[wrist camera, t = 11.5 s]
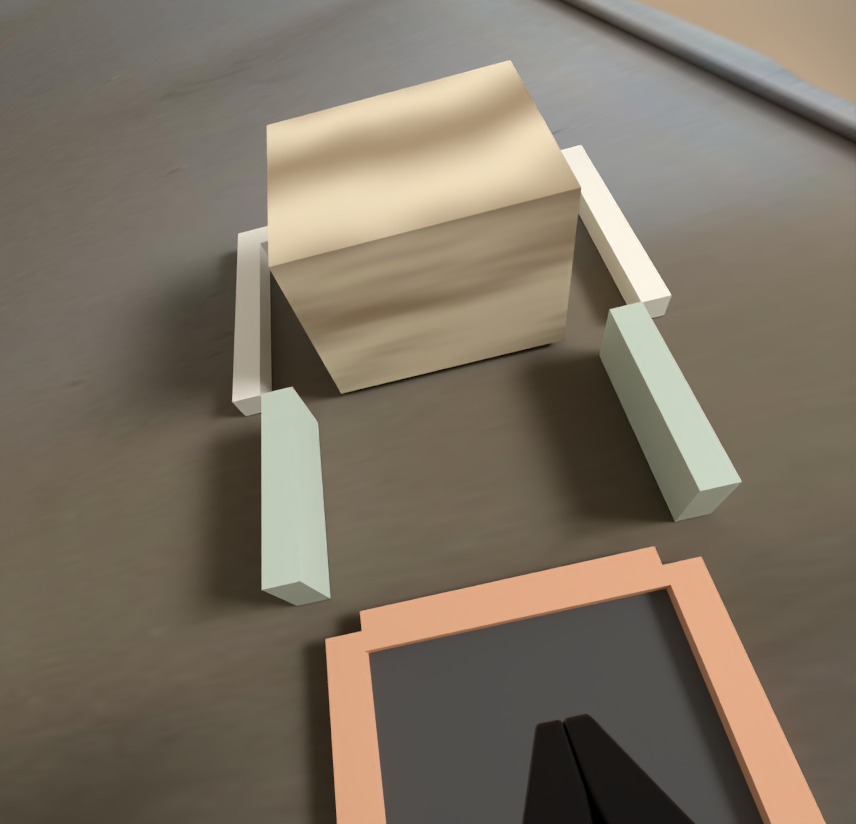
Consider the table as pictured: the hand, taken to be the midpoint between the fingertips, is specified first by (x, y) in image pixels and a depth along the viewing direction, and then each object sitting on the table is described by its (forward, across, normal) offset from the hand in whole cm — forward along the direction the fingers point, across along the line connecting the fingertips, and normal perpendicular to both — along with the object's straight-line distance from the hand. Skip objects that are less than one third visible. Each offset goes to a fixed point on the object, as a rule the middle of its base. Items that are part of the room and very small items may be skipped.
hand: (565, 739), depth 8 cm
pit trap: (+8, 0, +9) cm, 12 cm away
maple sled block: (+24, 0, -6) cm, 24 cm away
